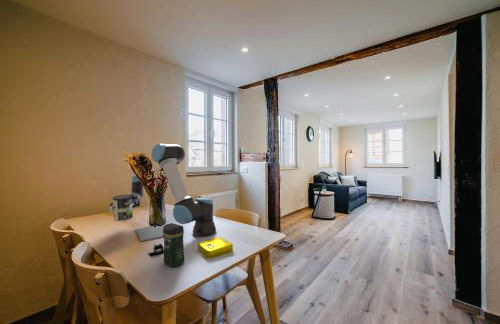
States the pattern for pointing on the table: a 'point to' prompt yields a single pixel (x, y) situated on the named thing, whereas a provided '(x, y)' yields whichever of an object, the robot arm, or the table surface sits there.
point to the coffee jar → (173, 245)
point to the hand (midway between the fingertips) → (120, 209)
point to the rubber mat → (150, 233)
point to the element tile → (214, 247)
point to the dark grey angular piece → (157, 247)
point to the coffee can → (122, 207)
